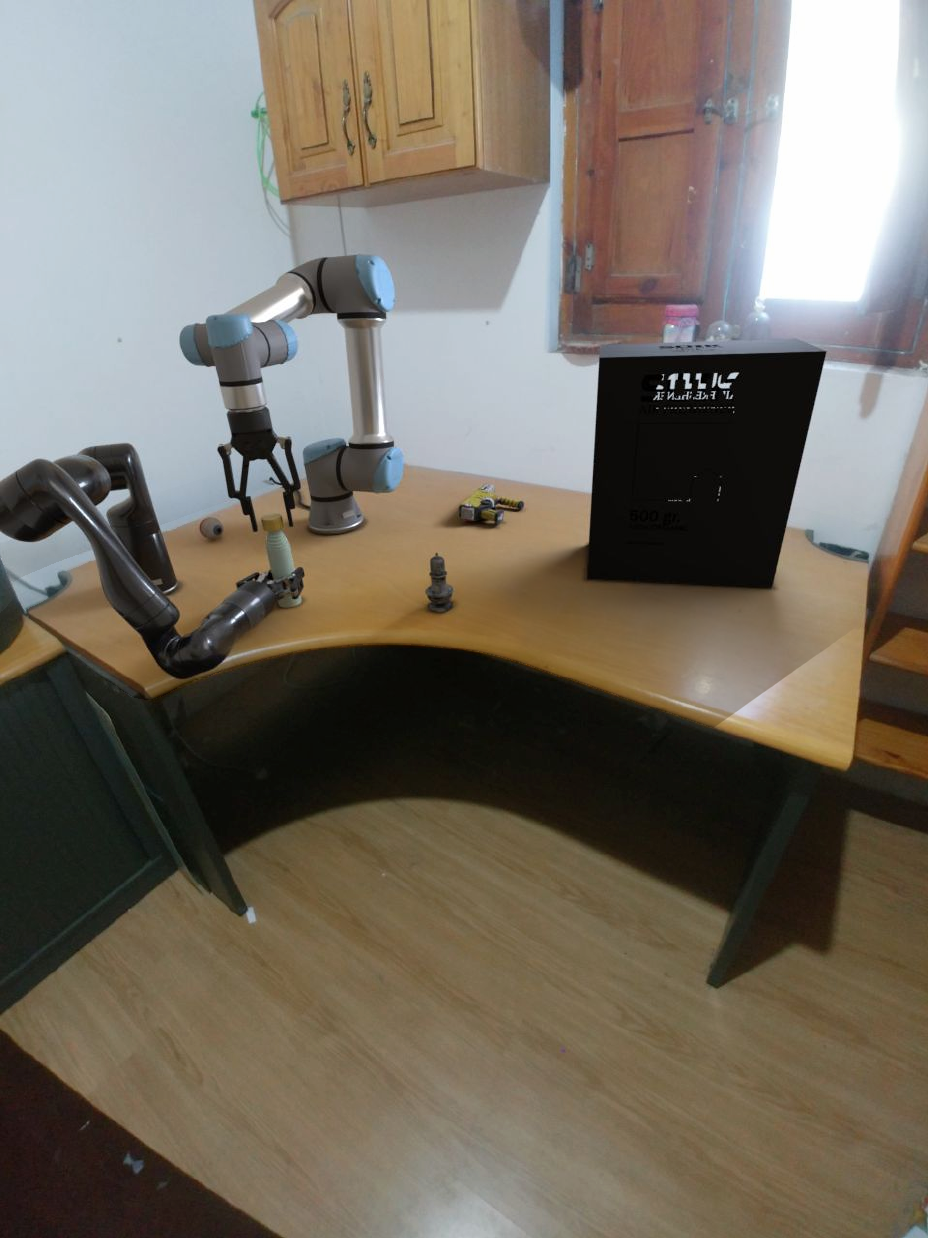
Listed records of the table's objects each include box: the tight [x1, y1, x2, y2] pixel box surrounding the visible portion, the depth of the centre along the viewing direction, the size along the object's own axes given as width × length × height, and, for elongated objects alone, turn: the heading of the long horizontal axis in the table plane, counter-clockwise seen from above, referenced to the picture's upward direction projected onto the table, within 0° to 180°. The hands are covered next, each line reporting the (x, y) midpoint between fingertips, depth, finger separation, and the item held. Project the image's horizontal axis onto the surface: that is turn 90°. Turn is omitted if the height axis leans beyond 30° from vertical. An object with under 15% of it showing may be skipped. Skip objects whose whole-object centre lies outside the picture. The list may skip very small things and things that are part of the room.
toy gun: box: [457, 482, 525, 525], centre depth 171 cm, size 5×24×15 cm
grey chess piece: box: [424, 552, 455, 613], centre depth 122 cm, size 6×6×12 cm
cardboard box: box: [586, 338, 828, 589], centre depth 126 cm, size 38×20×45 cm, turn 78°
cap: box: [260, 512, 285, 532], centre depth 121 cm, size 4×4×2 cm
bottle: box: [265, 529, 302, 609], centre depth 126 cm, size 5×5×19 cm
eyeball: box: [198, 516, 224, 541], centre depth 163 cm, size 6×6×6 cm
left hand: (290, 570), depth 129 cm, fingers closed on bottle, 4 cm apart
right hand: (273, 526), depth 122 cm, fingers open, 6 cm apart
